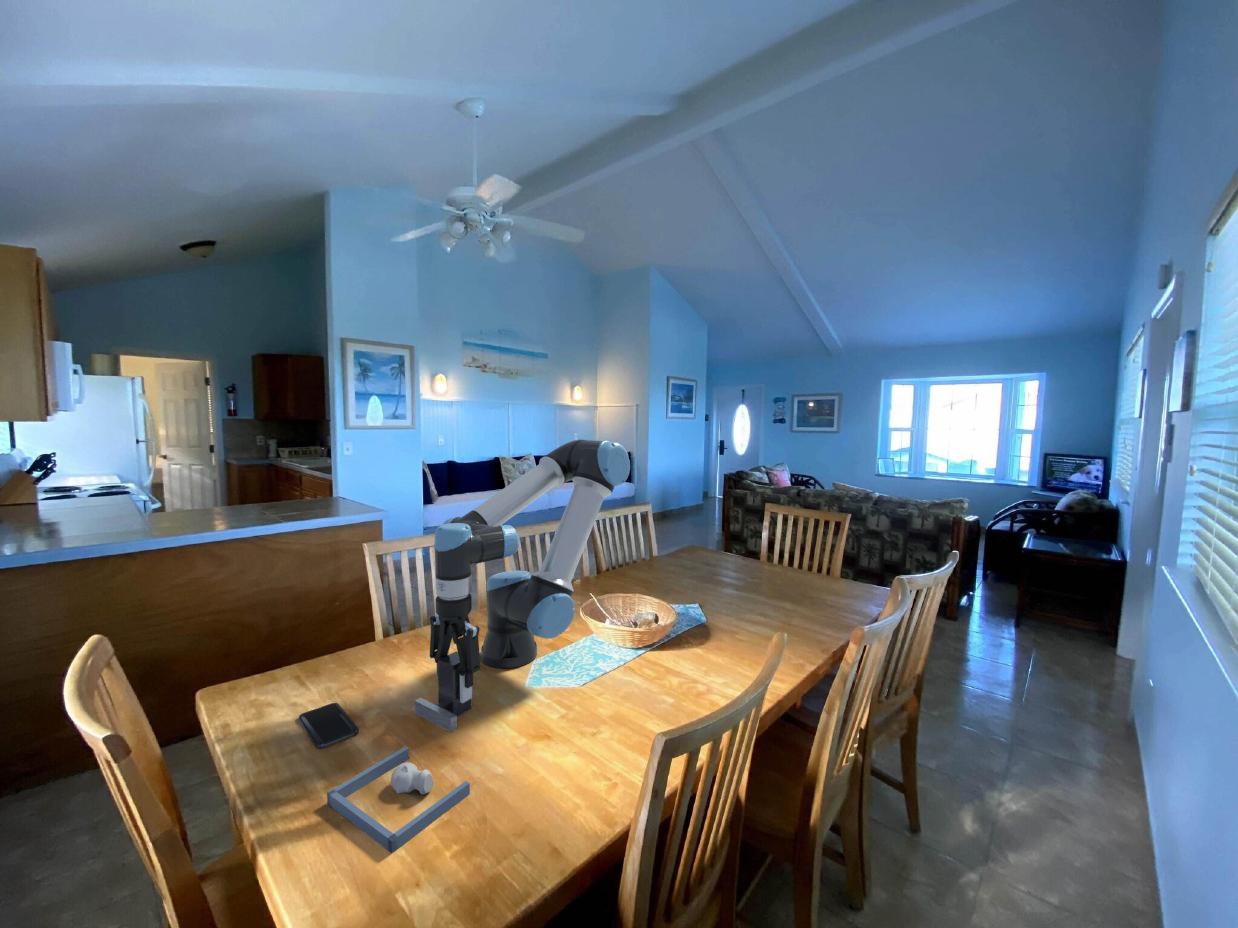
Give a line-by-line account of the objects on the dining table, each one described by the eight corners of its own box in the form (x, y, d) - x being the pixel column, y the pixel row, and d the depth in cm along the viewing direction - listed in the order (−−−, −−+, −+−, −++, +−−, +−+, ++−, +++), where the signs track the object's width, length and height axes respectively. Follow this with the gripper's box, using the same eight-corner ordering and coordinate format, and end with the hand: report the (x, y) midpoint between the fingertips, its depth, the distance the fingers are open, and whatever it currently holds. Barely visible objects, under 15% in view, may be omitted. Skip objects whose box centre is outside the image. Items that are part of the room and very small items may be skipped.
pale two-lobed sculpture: (387, 794, 93) (410, 769, 97) (418, 810, 89) (440, 784, 93) (379, 776, 91) (403, 752, 95) (410, 792, 87) (433, 766, 91)
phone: (318, 746, 102) (297, 714, 113) (318, 752, 102) (297, 719, 113) (360, 730, 108) (337, 701, 118) (361, 735, 108) (337, 705, 118)
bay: (405, 756, 101) (405, 746, 101) (469, 793, 91) (469, 782, 91) (327, 803, 88) (327, 792, 88) (391, 853, 79) (391, 840, 79)
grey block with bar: (446, 696, 122) (446, 647, 121) (482, 713, 116) (481, 661, 115) (415, 713, 115) (413, 661, 114) (451, 732, 109) (450, 677, 108)
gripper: (410, 590, 117) (412, 689, 119) (471, 609, 106) (472, 717, 108) (438, 581, 123) (440, 675, 125) (498, 598, 113) (498, 700, 115)
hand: (454, 694), depth 117 cm, fingers open, 7 cm apart
